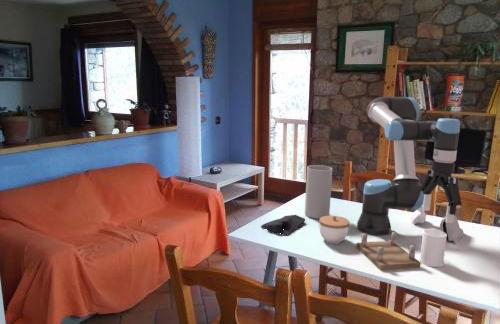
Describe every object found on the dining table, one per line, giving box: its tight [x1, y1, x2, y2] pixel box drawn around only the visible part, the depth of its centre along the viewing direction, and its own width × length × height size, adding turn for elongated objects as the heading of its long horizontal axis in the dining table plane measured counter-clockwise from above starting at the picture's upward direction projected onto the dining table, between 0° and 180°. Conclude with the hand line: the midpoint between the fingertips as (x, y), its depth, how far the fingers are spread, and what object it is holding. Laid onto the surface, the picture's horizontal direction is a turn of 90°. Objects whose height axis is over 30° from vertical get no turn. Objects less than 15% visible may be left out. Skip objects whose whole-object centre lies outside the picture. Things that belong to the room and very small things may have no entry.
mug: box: [418, 228, 447, 268], centre depth 146 cm, size 12×8×12 cm
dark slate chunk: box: [260, 214, 306, 236], centre depth 180 cm, size 15×22×5 cm
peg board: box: [355, 231, 421, 271], centre depth 149 cm, size 20×16×7 cm
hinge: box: [439, 215, 465, 245], centre depth 171 cm, size 17×5×10 cm, turn 140°
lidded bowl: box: [318, 215, 350, 245], centre depth 163 cm, size 13×13×11 cm
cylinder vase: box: [304, 164, 333, 220], centre depth 193 cm, size 12×12×25 cm
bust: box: [410, 205, 427, 225], centre depth 187 cm, size 12×8×11 cm
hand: (437, 216), depth 144 cm, fingers open, 13 cm apart
